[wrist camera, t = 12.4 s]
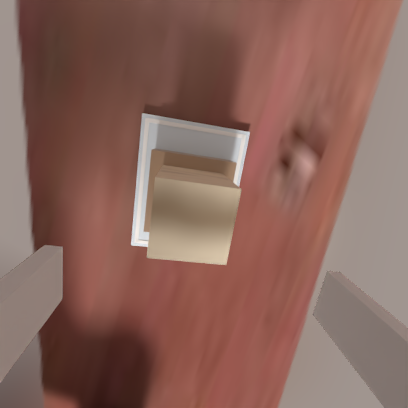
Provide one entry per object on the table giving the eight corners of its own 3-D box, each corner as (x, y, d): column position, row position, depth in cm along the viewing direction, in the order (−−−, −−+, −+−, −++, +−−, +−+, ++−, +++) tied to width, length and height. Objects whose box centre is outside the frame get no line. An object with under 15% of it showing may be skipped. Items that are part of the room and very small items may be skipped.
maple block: (212, 227, 29) (226, 265, 21) (156, 221, 28) (146, 257, 20) (222, 173, 27) (241, 189, 19) (163, 164, 26) (155, 177, 18)
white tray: (224, 251, 36) (231, 268, 31) (132, 242, 34) (124, 259, 29) (247, 132, 31) (260, 130, 26) (143, 113, 29) (136, 108, 25)
